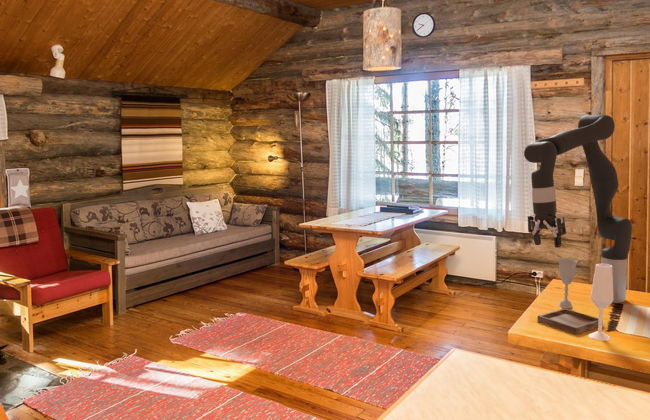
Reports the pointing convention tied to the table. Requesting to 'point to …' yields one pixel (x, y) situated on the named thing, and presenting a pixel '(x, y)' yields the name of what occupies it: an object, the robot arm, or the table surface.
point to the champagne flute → (602, 295)
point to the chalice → (566, 277)
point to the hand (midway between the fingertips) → (547, 246)
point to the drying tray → (569, 321)
